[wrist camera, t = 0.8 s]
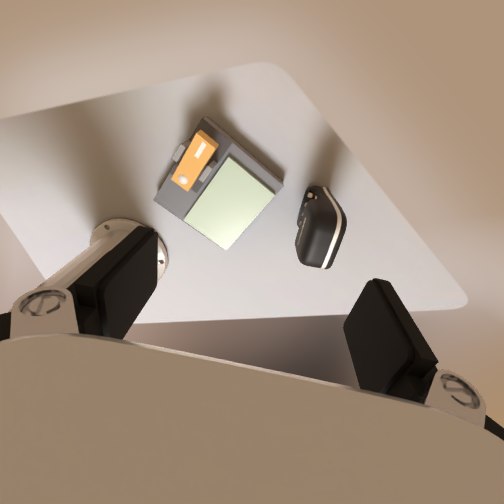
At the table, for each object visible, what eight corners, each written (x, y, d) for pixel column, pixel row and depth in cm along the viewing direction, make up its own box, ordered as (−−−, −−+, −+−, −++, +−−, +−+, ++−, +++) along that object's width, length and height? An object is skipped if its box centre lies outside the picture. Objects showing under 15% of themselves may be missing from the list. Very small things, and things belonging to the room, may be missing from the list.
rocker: (191, 187, 32) (187, 192, 31) (175, 175, 32) (170, 179, 31) (219, 144, 28) (215, 148, 27) (200, 129, 27) (196, 133, 26)
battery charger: (302, 180, 34) (313, 213, 24) (330, 186, 34) (351, 220, 24) (290, 227, 38) (295, 271, 28) (315, 231, 38) (328, 277, 28)
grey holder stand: (227, 244, 40) (221, 264, 35) (158, 195, 37) (141, 209, 32) (283, 181, 34) (284, 194, 30) (207, 116, 31) (194, 119, 26)
